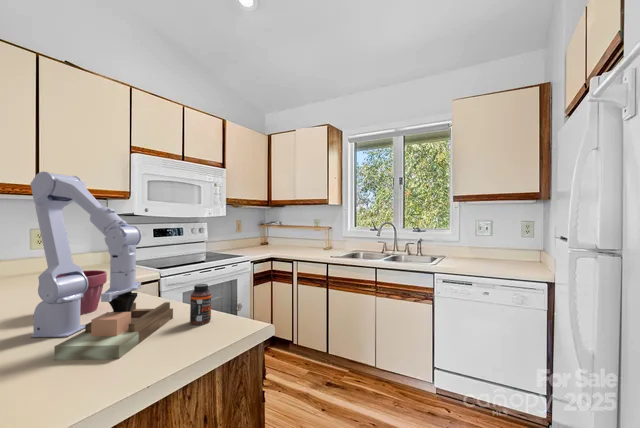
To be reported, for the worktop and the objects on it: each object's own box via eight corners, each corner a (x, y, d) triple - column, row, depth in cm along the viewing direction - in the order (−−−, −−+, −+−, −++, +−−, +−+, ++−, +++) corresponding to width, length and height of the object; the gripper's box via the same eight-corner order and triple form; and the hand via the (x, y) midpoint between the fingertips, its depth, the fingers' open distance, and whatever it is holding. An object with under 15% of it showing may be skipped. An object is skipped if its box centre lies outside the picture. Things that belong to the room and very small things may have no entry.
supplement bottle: (203, 326, 89) (204, 287, 89) (185, 324, 90) (186, 286, 90) (214, 319, 95) (215, 283, 95) (197, 318, 96) (198, 282, 96)
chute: (54, 359, 67) (54, 337, 67) (127, 318, 95) (127, 302, 95) (119, 358, 68) (119, 336, 68) (172, 317, 96) (173, 302, 96)
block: (91, 336, 73) (91, 319, 73) (107, 327, 79) (107, 312, 79) (116, 335, 73) (117, 319, 73) (130, 327, 79) (131, 311, 79)
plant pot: (77, 319, 94) (78, 278, 94) (40, 316, 96) (41, 276, 97) (116, 306, 108) (116, 270, 108) (82, 304, 110) (83, 269, 111)
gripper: (122, 275, 74) (121, 331, 74) (151, 266, 88) (151, 313, 88) (92, 276, 74) (91, 332, 73) (127, 266, 88) (126, 313, 88)
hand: (122, 321), depth 81 cm, fingers closed
